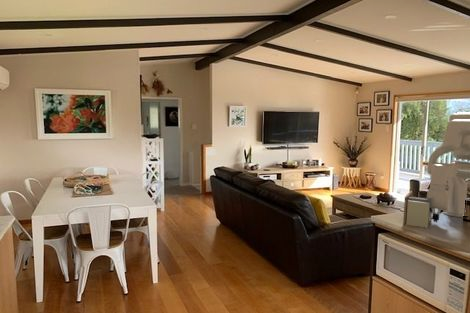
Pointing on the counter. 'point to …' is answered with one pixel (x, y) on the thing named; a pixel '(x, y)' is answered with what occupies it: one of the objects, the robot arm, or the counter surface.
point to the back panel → (406, 206)
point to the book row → (418, 212)
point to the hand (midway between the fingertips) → (435, 221)
